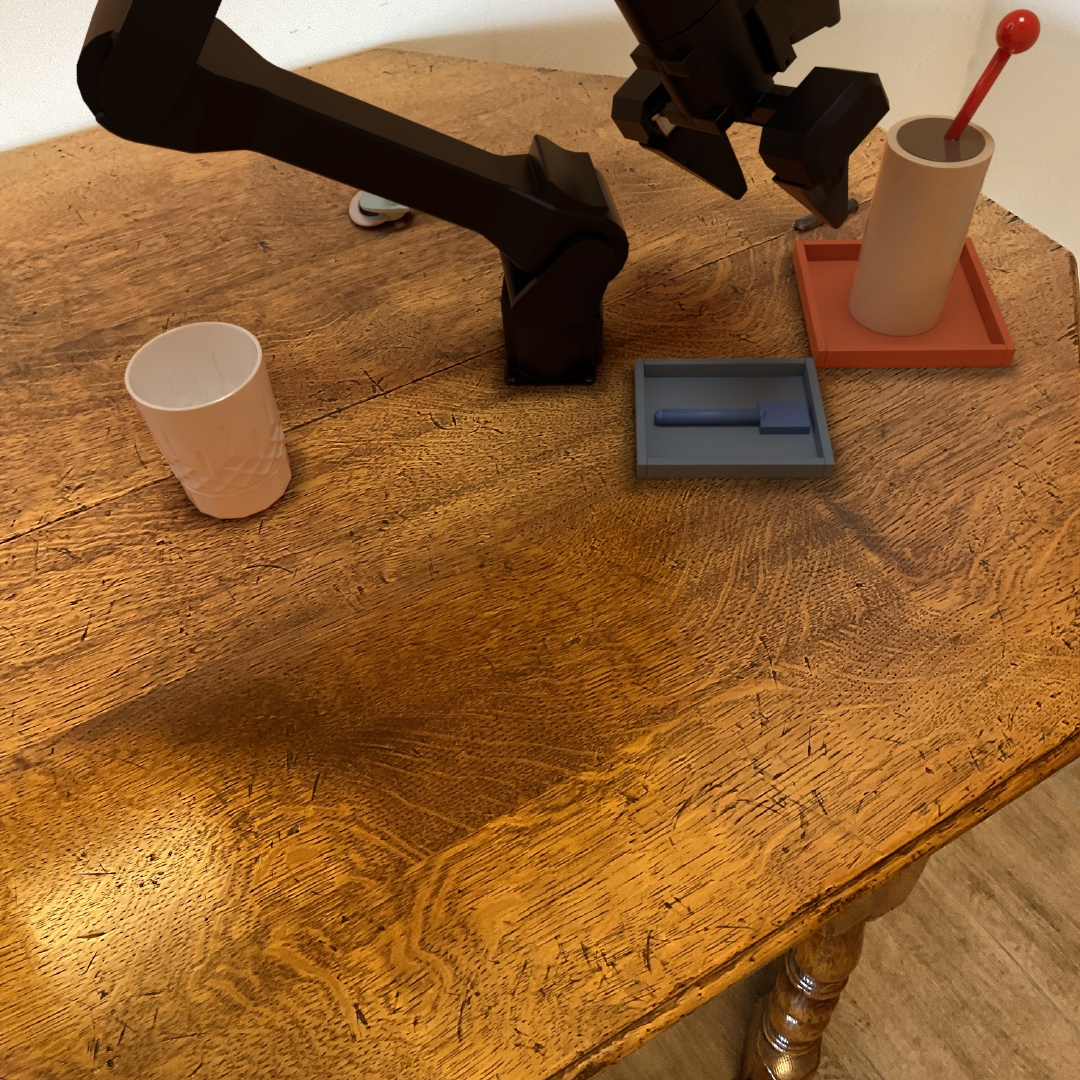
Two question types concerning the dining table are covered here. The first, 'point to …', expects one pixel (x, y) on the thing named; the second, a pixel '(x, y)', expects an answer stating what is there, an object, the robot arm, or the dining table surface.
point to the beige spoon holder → (928, 203)
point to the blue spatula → (746, 417)
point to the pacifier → (375, 209)
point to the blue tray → (728, 444)
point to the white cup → (213, 416)
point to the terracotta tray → (841, 342)
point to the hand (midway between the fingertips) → (788, 208)
